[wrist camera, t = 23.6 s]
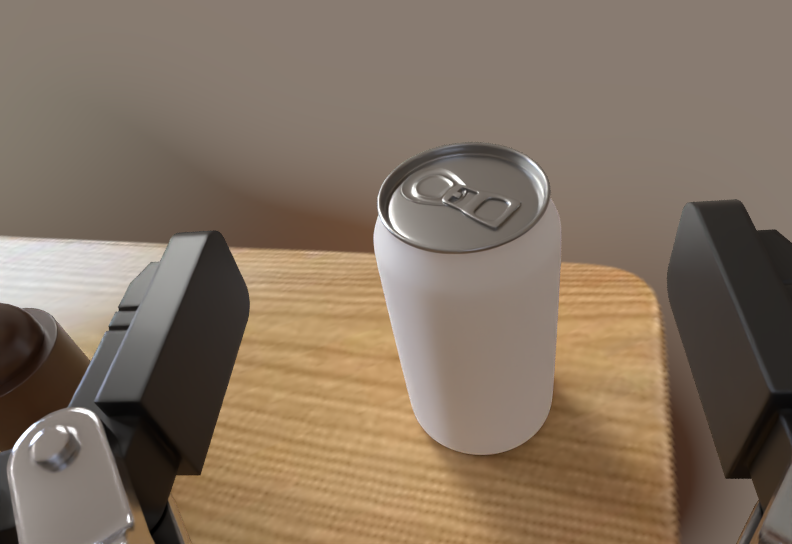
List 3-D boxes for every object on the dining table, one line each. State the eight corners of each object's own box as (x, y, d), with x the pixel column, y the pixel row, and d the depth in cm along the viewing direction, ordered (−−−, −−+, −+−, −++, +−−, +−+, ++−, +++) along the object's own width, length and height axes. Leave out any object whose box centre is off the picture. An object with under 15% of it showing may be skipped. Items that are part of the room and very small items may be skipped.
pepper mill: (52, 445, 30) (-113, 294, 22) (144, 402, 31) (17, 244, 23) (57, 527, 27) (-133, 386, 19) (159, 477, 28) (18, 324, 20)
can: (465, 320, 31) (443, 117, 23) (579, 380, 28) (603, 167, 20) (383, 409, 28) (323, 214, 20) (499, 489, 25) (487, 293, 17)
